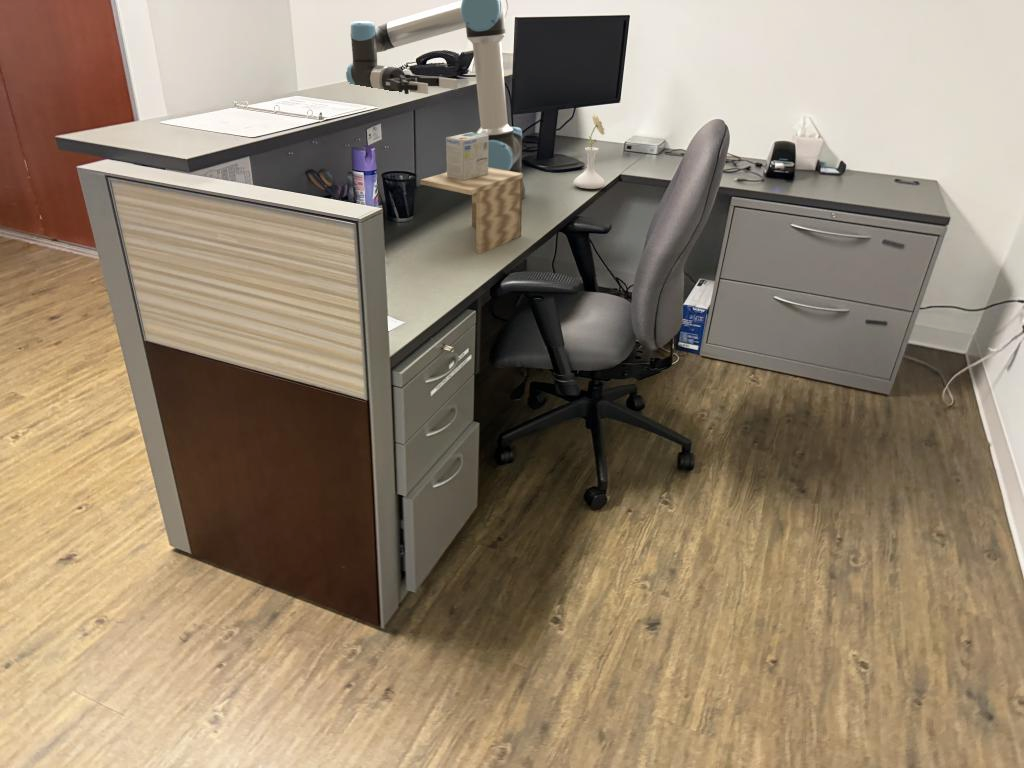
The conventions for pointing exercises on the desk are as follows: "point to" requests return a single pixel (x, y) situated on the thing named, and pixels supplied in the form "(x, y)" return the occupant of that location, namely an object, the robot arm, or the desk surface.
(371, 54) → the robot arm
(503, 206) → the wooden monitor riser
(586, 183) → the flower in vase
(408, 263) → the desk surface
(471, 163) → the light bulb box
